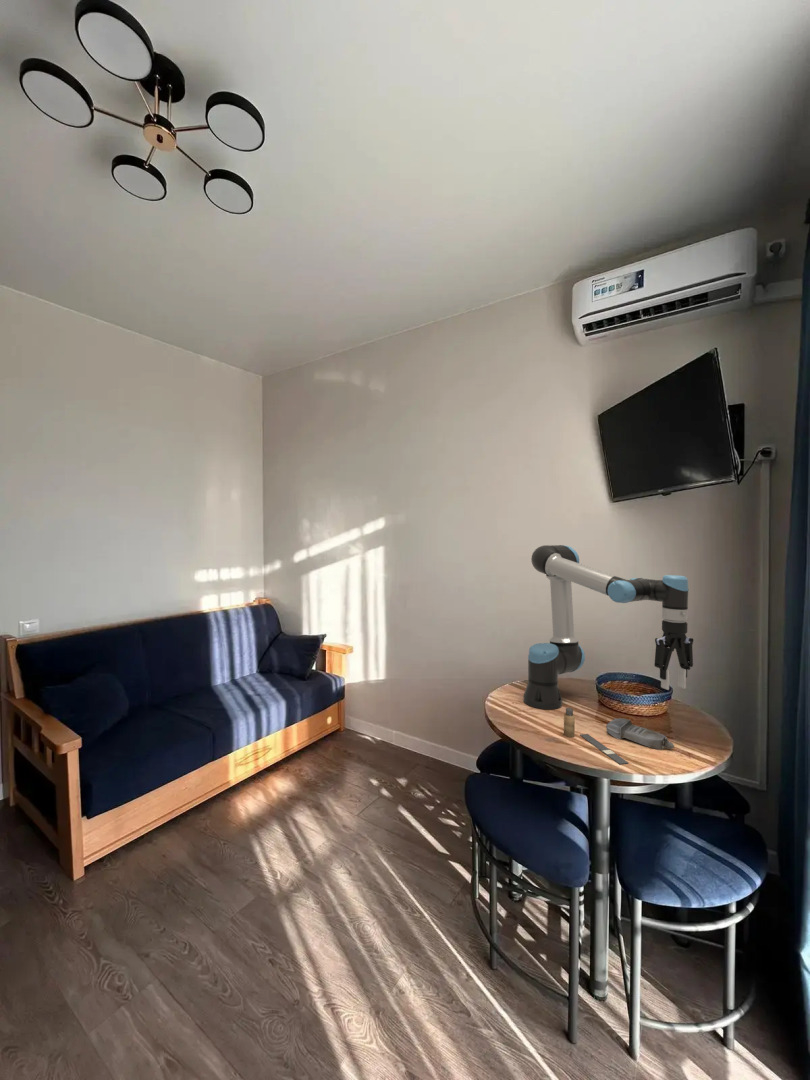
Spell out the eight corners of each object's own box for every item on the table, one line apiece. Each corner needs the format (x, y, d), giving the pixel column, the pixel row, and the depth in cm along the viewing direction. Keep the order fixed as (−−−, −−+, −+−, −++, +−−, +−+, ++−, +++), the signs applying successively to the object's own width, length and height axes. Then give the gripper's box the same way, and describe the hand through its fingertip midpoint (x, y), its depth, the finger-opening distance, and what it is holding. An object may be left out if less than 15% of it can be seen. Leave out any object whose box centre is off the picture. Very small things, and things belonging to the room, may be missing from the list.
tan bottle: (561, 733, 155) (562, 707, 155) (570, 732, 156) (571, 706, 156) (567, 737, 151) (567, 711, 151) (576, 736, 152) (576, 710, 152)
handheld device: (669, 756, 140) (669, 742, 140) (604, 736, 154) (604, 722, 154) (678, 746, 147) (678, 732, 147) (614, 727, 161) (615, 715, 161)
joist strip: (579, 735, 153) (579, 734, 153) (587, 734, 154) (587, 733, 154) (619, 764, 134) (619, 763, 134) (628, 763, 134) (628, 762, 134)
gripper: (659, 623, 147) (658, 693, 147) (707, 621, 151) (705, 689, 152) (642, 619, 155) (641, 685, 155) (688, 617, 159) (687, 682, 159)
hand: (673, 687), depth 153 cm, fingers open, 6 cm apart
